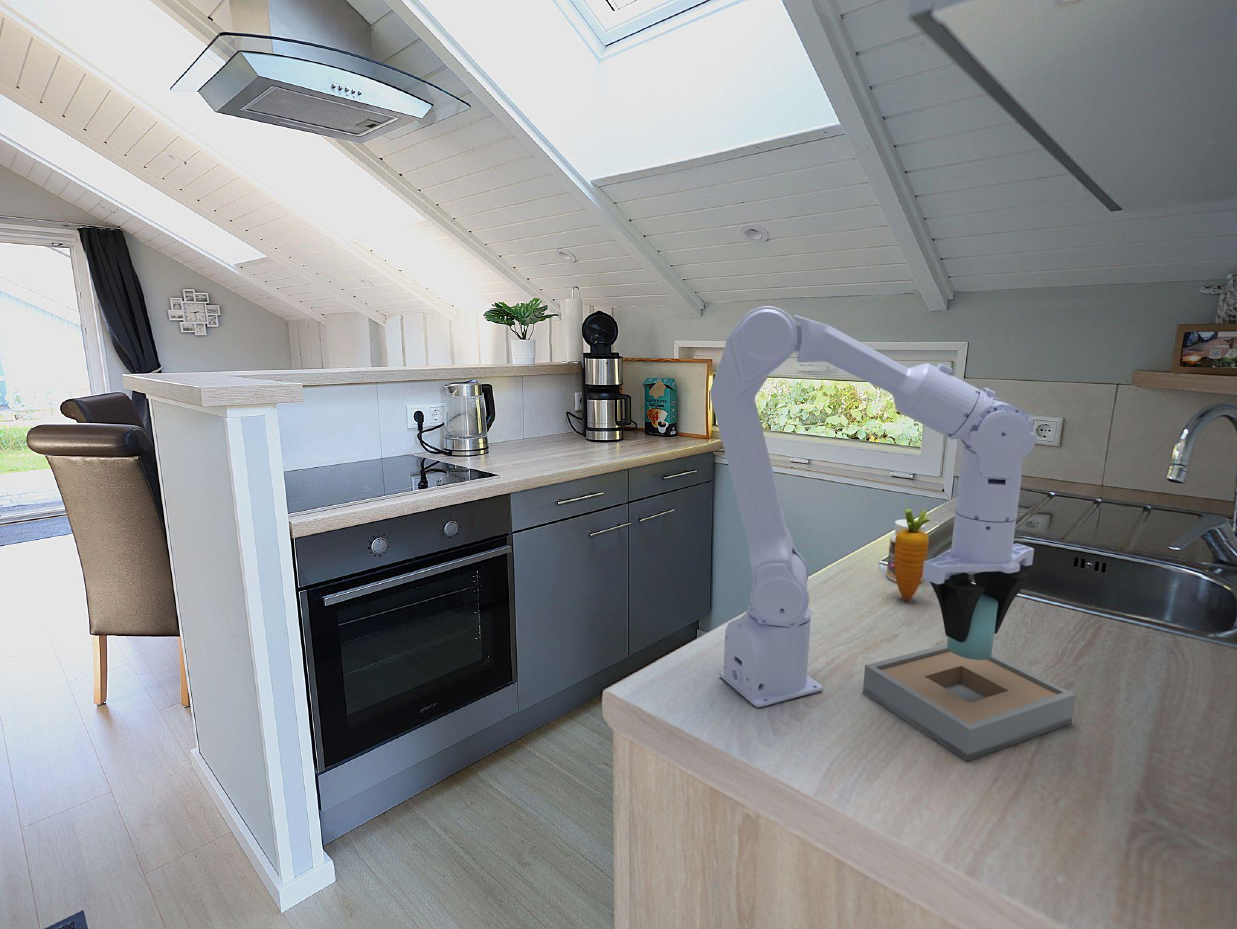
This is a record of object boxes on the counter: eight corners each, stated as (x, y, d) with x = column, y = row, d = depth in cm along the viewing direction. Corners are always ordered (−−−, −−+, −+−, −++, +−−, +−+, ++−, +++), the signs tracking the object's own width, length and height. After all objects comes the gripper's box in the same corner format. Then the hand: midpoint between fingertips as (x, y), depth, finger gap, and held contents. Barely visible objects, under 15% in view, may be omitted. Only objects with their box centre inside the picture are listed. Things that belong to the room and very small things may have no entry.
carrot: (917, 595, 108) (926, 504, 105) (928, 607, 103) (938, 513, 100) (885, 593, 108) (893, 503, 105) (894, 606, 103) (903, 512, 100)
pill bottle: (879, 574, 116) (884, 519, 114) (908, 572, 118) (913, 517, 116) (900, 586, 111) (905, 529, 109) (930, 583, 112) (936, 526, 110)
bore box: (966, 761, 66) (970, 729, 66) (862, 692, 79) (865, 665, 78) (1071, 723, 73) (1075, 694, 72) (959, 665, 85) (962, 639, 85)
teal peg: (971, 662, 72) (977, 610, 70) (938, 645, 76) (943, 594, 74) (1000, 655, 73) (1007, 603, 72) (966, 638, 77) (972, 589, 76)
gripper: (970, 533, 65) (955, 663, 68) (1067, 516, 71) (1050, 637, 73) (911, 515, 71) (900, 634, 74) (1005, 501, 77) (991, 612, 80)
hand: (971, 634), depth 74 cm, fingers closed on teal peg, 4 cm apart
